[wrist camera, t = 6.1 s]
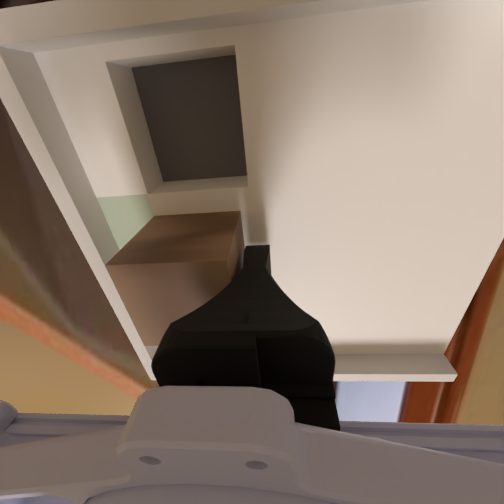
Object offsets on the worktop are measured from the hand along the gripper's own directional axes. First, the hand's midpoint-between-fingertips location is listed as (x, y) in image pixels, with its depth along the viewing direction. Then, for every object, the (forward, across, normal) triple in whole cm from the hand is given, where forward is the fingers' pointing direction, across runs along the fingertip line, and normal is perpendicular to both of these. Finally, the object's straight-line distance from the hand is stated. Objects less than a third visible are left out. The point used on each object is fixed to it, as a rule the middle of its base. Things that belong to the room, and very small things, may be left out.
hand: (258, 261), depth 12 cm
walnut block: (+1, +3, 0) cm, 3 cm away
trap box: (+4, -2, 0) cm, 4 cm away
